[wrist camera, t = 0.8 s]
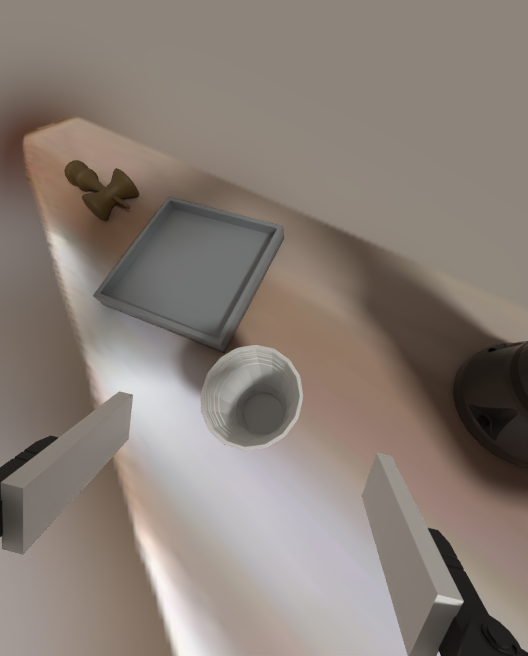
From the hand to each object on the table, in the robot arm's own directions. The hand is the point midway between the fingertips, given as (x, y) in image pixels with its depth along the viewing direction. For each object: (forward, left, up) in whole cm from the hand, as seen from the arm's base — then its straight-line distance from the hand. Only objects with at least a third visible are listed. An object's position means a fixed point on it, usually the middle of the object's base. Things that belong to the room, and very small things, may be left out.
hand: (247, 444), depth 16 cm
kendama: (+53, -33, -26) cm, 67 cm away
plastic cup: (+4, -5, -25) cm, 26 cm away
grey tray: (+25, -23, -25) cm, 42 cm away
